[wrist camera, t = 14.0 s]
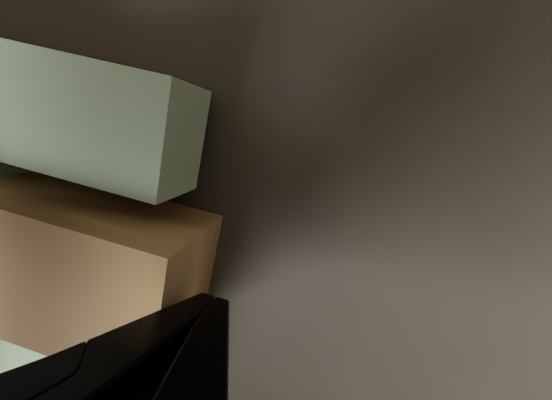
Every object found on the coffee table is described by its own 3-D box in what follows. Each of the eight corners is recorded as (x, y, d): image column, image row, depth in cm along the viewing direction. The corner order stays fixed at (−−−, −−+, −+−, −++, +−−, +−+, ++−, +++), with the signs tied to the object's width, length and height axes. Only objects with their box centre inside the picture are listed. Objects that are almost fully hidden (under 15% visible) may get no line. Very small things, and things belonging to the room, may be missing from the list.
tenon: (224, 214, 11) (168, 259, 7) (206, 307, 12) (149, 391, 8) (56, 168, 11) (-80, 185, 8) (53, 259, 12) (-69, 315, 9)
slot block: (211, 91, 9) (131, 60, 5) (164, 386, 12) (90, 501, 8) (-52, 31, 10) (-275, -30, 6) (-37, 316, 13) (-185, 390, 9)
